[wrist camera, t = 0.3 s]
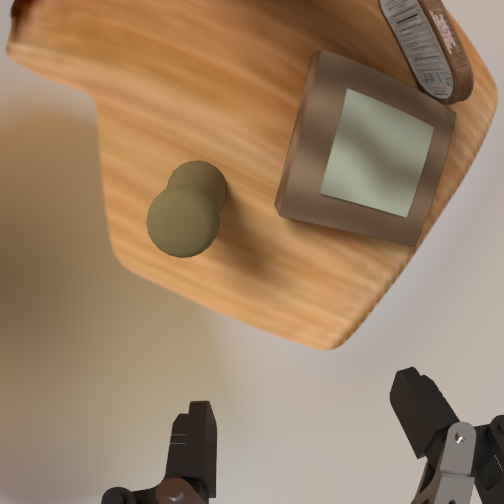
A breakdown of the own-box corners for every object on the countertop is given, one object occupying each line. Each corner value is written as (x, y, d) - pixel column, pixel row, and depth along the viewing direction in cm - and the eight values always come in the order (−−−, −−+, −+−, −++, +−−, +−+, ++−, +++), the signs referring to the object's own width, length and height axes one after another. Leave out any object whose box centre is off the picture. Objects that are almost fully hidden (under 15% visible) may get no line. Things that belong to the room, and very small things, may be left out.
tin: (438, 99, 25) (487, 102, 18) (420, 106, 26) (469, 110, 18) (382, -15, 19) (421, -39, 12) (361, -11, 20) (397, -39, 12)
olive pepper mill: (176, 224, 30) (152, 277, 20) (160, 169, 28) (123, 198, 18) (232, 211, 30) (233, 261, 20) (219, 154, 28) (212, 175, 18)
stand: (311, 56, 24) (323, 48, 20) (437, 111, 26) (458, 113, 22) (274, 204, 30) (280, 217, 27) (399, 234, 33) (416, 248, 29)
